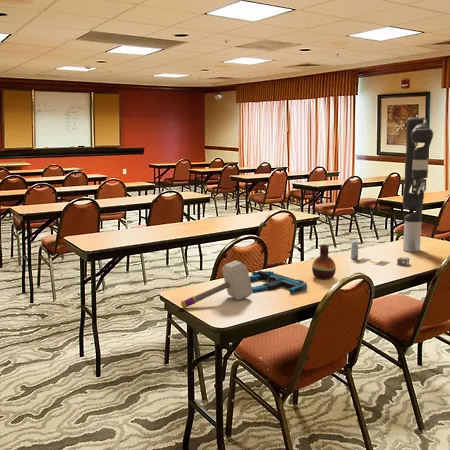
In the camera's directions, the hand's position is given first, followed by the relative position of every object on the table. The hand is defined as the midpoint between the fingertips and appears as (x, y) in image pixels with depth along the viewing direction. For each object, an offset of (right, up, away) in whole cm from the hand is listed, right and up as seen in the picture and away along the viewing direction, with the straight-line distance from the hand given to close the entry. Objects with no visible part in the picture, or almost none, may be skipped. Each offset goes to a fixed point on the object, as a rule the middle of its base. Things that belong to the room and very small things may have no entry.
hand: (418, 200), depth 275 cm
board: (-24, -33, +5) cm, 41 cm away
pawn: (-30, -31, +10) cm, 44 cm away
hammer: (-103, -45, -55) cm, 125 cm away
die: (-9, -34, -2) cm, 35 cm away
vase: (-52, -38, -19) cm, 67 cm away
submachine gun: (-80, -41, -31) cm, 95 cm away
